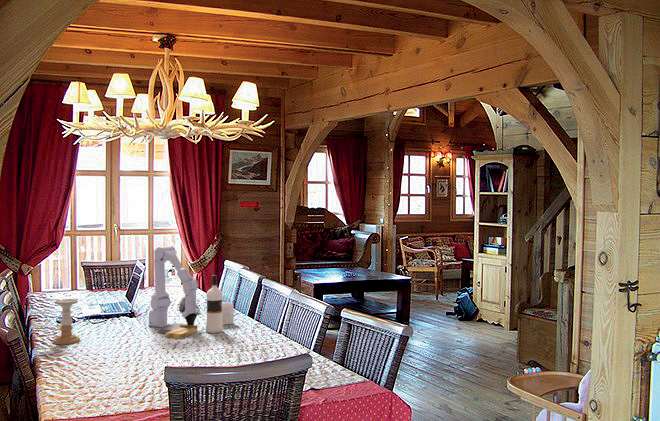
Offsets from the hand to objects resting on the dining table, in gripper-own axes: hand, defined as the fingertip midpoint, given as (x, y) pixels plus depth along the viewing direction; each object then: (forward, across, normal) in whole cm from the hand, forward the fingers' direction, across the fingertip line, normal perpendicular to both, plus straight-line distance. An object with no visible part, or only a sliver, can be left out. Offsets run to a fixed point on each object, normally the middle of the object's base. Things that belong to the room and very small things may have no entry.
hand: (190, 328), depth 333 cm
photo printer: (+2, +20, -10) cm, 22 cm away
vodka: (+2, +2, -13) cm, 13 cm away
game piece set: (+2, -34, -48) cm, 59 cm away
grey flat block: (+1, -2, +9) cm, 9 cm away
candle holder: (+2, -41, +45) cm, 61 cm away
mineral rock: (+2, +45, +26) cm, 52 cm away
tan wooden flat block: (+1, -9, 0) cm, 9 cm away
